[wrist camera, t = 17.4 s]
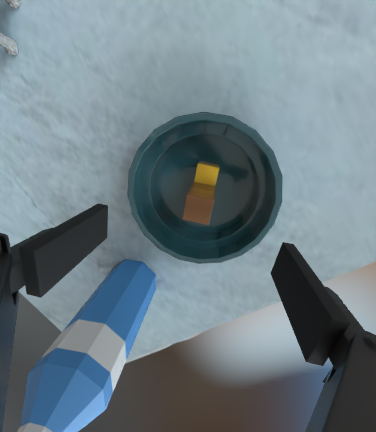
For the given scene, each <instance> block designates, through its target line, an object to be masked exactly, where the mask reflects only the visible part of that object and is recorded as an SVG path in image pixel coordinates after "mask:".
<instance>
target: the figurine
mask: <svg viewBox="0 0 376 432" xmlns="http://www.w3.org/2000/svg"><path fill="white" fill-rule="evenodd" d="M6 1H7V2H8V4H9V5H10V6H11V7H14V8H15V9H16V8H17V7H20V0H6ZM0 45H1V46H3V47H4V48H5V49H6V50H7V52H8V53H9V54H12V55H15V54H16V55H17V54H18V47H17V44H16V42H15V41H14V40H13V39H12V38H8V37H7V36H5V35H4V34H2V33H1V32H0Z"/></svg>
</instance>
